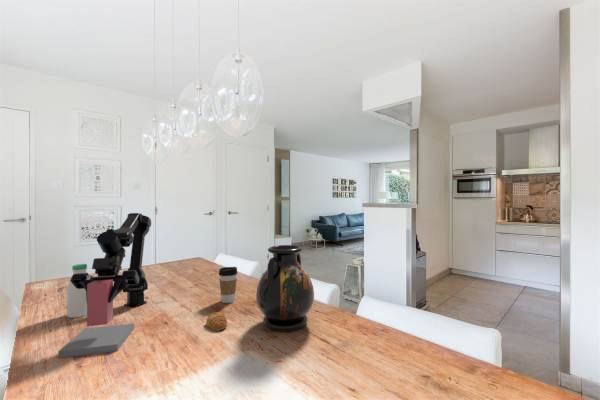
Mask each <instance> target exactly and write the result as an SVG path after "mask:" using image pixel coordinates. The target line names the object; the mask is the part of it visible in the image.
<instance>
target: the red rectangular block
mask: <svg viewBox="0 0 600 400" xmlns="http://www.w3.org/2000/svg"><path fill="white" fill-rule="evenodd" d="M113 285H114V281H113V279H111V280H95V281H92V282H91V283H89V284H87V315H86V327H96V326H105V325H108V324H110V322H111V321H112V320H113V319H114V299H113V300H112V301H111V303H108V299H109V296H110V293H111V290H112V288H113Z"/></svg>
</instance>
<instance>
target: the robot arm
mask: <svg viewBox="0 0 600 400" xmlns="http://www.w3.org/2000/svg"><path fill="white" fill-rule="evenodd" d="M126 217H127V218H125V220H124V221H123V223H122V225H120V226H119V228H117V229H114V228H107V229H106V231H104V232H101V233H100V234H99V235H97V237H96V241H97V243H98V245H99V248H100V249H101V251H102V253H105V255H104V257H98V258H93V261H92V266H91V267H92V268H91V269H92V270H94V273H95V275H96V276H95V275H90V274H89V273H88V272H86V273H76V274H74V275H73V274H72V275H73V276H72V275H71V277H70V280H69V281H71V282H72V284H73V285H74V286H75V288H77V289H85V290H86V301H87V284H89V283H91V282H92V281H95V280H111V279H113V288H112V290H111V293H110V296H109V299H108V303H111V301H112V300H113V301H114V299H115V298H116V297H117V296H118V295H119V294H121V292H122V293H127V294H126V300H127V302H126V303H124V304H123V306H125V307H130V308H136V307H138V306H141V305H144V304H147V301H146V300H145V291H147V290H148V287H149V285H148V284H149V283H148V280H147V278H146V273H145V272H144V270H143V268H142V266H143V257H144V247H145V238H146V236H147V234H148V233H150V228H151V227H152V220H151V217H149V216H147V215H144V214H143V213H141V212H130V213H127V216H126ZM130 246H131V250H130V251H131V252H130V253H131V254H130V261H129V268H128V269H127V270H123V271H122V268H123V267H122V264H123V261H124V258H126V249H125V248H130ZM120 271H122V274H119V272H120Z"/></svg>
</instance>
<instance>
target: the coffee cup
mask: <svg viewBox="0 0 600 400" xmlns="http://www.w3.org/2000/svg"><path fill="white" fill-rule="evenodd" d="M237 275H238V267H237V266H227V267H226V266H224V267H220V268H219V270H218V276H219V289H220V300H221V303H222V304H230V303H234V302H235V301H236V291H237V277H238V276H237Z"/></svg>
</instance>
